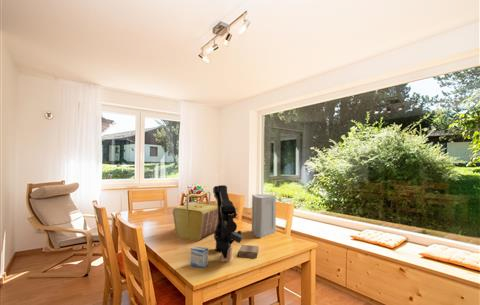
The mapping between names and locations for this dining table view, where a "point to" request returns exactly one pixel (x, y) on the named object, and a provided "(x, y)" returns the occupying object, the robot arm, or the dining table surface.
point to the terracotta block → (229, 255)
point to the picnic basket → (195, 219)
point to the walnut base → (248, 251)
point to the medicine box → (199, 257)
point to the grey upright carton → (263, 214)
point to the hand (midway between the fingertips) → (226, 256)
